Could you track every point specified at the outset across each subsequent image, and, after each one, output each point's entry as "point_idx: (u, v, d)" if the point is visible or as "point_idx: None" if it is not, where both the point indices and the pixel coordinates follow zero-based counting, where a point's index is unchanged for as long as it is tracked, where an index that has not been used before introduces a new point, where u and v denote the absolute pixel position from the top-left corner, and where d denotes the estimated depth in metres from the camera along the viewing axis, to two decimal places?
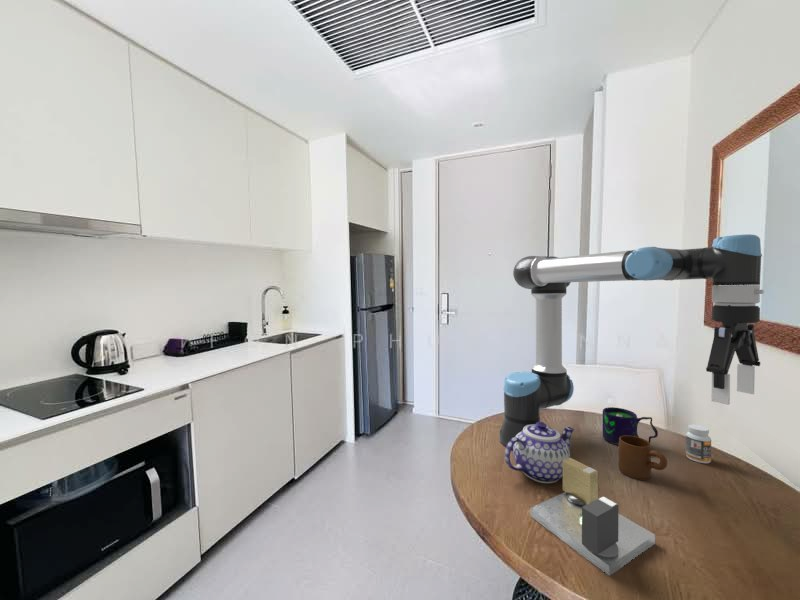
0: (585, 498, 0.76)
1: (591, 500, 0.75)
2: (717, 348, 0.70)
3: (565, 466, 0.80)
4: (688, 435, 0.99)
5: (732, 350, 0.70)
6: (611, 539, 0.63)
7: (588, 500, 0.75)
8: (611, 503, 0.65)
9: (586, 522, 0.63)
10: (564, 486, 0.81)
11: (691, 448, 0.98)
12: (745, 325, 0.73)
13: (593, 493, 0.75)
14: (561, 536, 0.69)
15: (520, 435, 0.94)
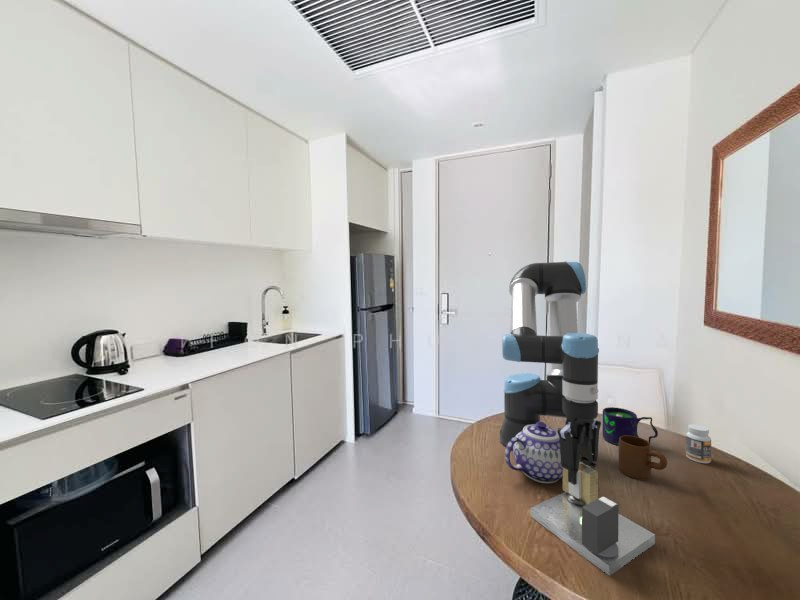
0: (585, 498, 0.76)
1: (591, 500, 0.75)
2: (563, 449, 0.76)
3: None
4: (688, 435, 0.99)
5: (577, 448, 0.76)
6: (611, 539, 0.63)
7: (588, 500, 0.75)
8: (611, 503, 0.65)
9: (586, 522, 0.63)
10: (564, 486, 0.81)
11: (691, 448, 0.98)
12: None
13: (593, 493, 0.75)
14: (561, 536, 0.69)
15: (520, 435, 0.94)
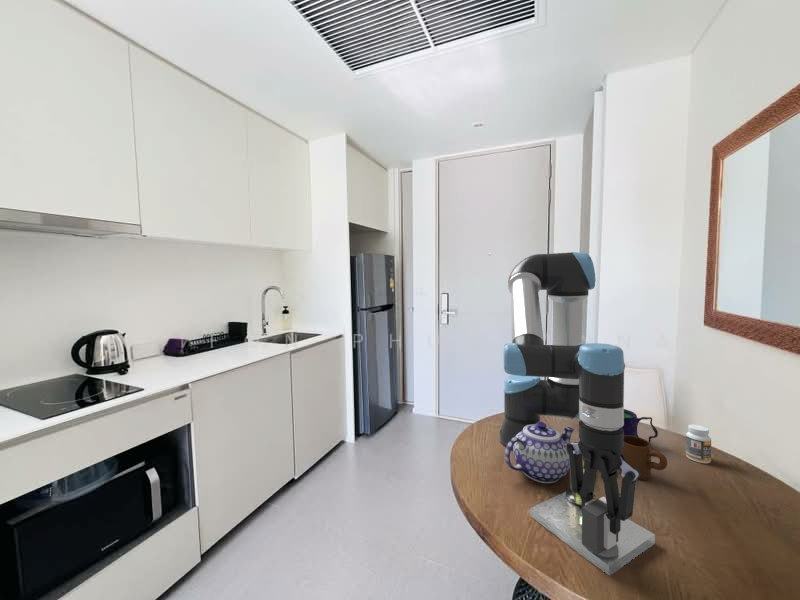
0: (575, 496, 0.77)
1: (579, 499, 0.76)
2: None
3: None
4: (688, 435, 0.99)
5: (584, 474, 0.66)
6: None
7: (575, 498, 0.76)
8: None
9: (586, 522, 0.63)
10: (570, 483, 0.82)
11: (691, 448, 0.98)
12: (612, 453, 0.61)
13: None
14: (561, 536, 0.69)
15: (520, 435, 0.94)
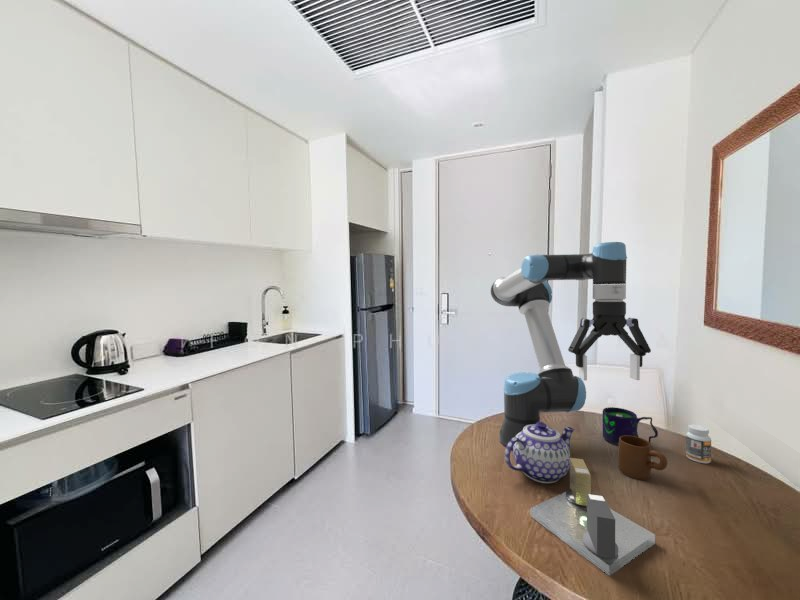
0: (575, 496, 0.77)
1: (579, 499, 0.76)
2: (577, 334, 0.87)
3: (570, 463, 0.81)
4: (688, 435, 0.99)
5: (592, 337, 0.86)
6: None
7: (575, 498, 0.76)
8: (600, 498, 0.66)
9: (602, 530, 0.61)
10: (570, 483, 0.82)
11: (691, 448, 0.98)
12: (619, 318, 0.85)
13: (582, 493, 0.75)
14: (561, 536, 0.69)
15: (520, 435, 0.94)
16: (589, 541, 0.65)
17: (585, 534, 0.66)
